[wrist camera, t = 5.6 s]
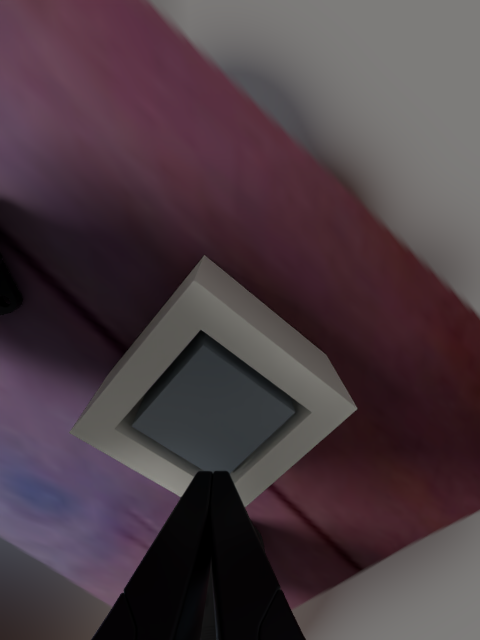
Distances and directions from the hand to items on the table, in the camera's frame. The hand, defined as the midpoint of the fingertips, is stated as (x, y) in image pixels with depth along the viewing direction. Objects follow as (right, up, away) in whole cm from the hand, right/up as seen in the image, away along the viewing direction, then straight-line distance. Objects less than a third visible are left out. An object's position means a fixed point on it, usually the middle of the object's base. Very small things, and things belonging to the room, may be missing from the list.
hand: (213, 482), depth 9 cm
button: (0, +2, +5) cm, 6 cm away
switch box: (0, +2, +6) cm, 7 cm away
